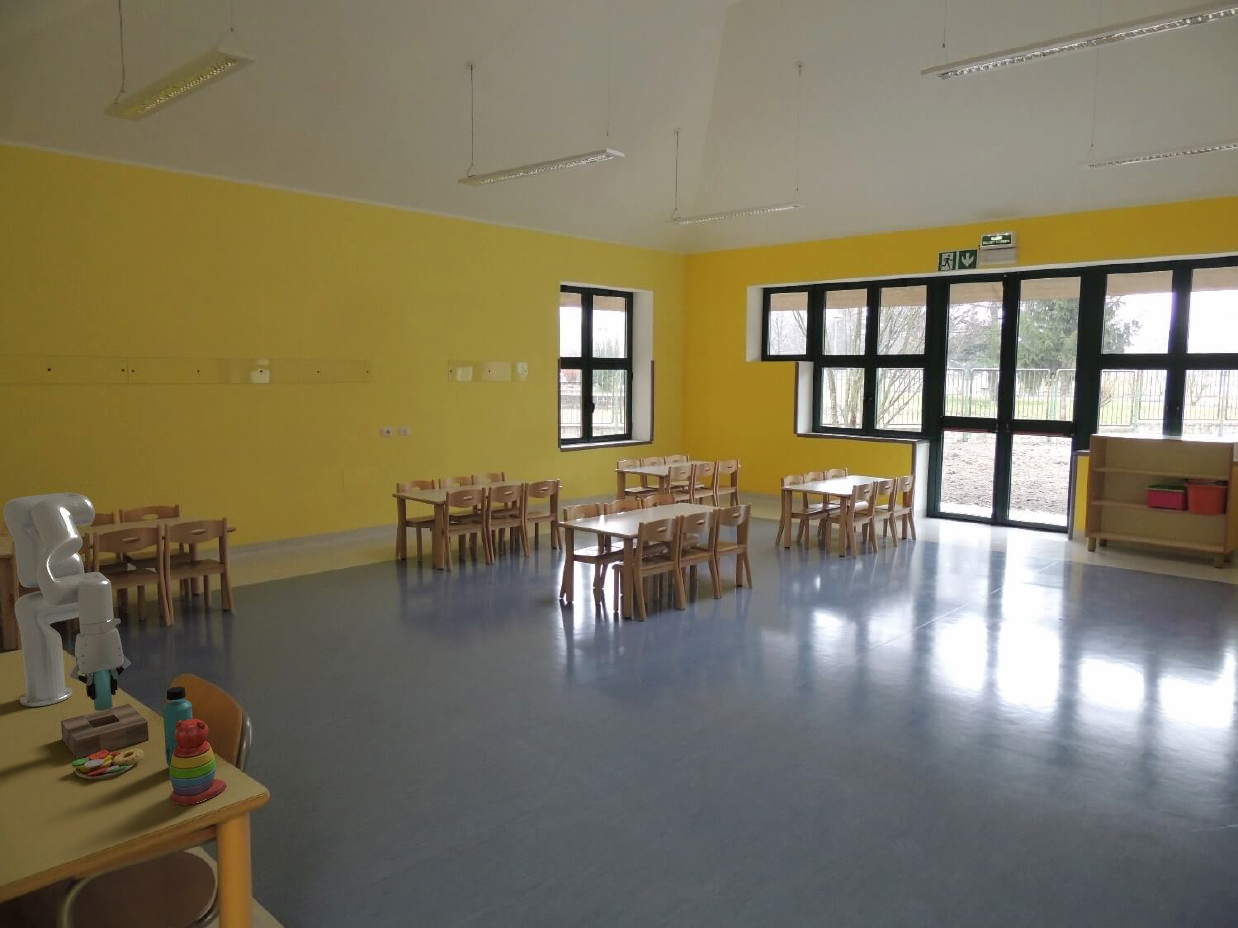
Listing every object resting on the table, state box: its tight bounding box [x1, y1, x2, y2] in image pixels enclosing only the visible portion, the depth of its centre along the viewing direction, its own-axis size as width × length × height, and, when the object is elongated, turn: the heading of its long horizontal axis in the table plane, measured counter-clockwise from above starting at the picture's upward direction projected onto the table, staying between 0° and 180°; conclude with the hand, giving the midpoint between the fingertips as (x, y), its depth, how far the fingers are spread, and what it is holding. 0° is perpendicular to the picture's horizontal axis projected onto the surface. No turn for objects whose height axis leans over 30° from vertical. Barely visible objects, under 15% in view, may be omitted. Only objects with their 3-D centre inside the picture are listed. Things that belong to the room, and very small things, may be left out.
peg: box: [92, 669, 114, 712], centre depth 223 cm, size 4×4×12 cm
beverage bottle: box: [162, 686, 193, 768], centre depth 209 cm, size 6×7×20 cm
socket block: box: [60, 703, 150, 760], centre depth 225 cm, size 16×16×5 cm
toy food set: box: [71, 748, 145, 781], centre depth 210 cm, size 13×13×3 cm
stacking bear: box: [168, 718, 227, 805], centre depth 196 cm, size 11×10×18 cm
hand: (102, 695), depth 224 cm, fingers closed on peg, 4 cm apart
